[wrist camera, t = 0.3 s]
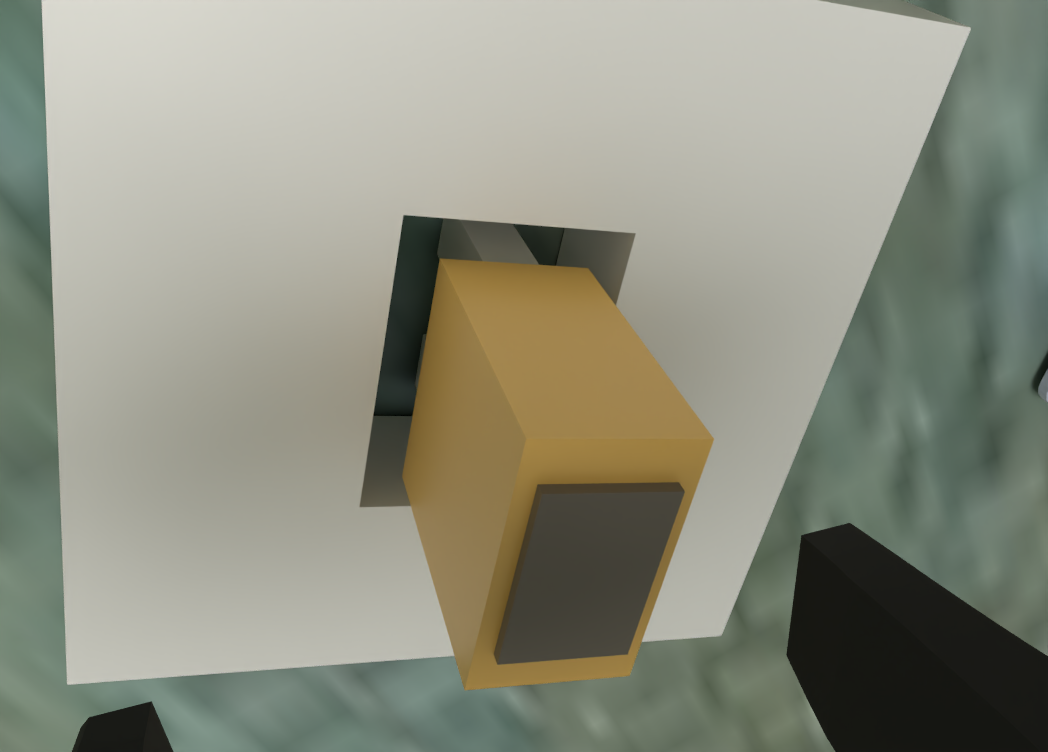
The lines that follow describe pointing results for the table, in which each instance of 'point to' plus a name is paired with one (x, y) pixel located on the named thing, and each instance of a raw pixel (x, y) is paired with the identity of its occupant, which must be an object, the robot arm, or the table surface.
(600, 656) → the fuse
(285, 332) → the fuse block
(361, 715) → the table surface
